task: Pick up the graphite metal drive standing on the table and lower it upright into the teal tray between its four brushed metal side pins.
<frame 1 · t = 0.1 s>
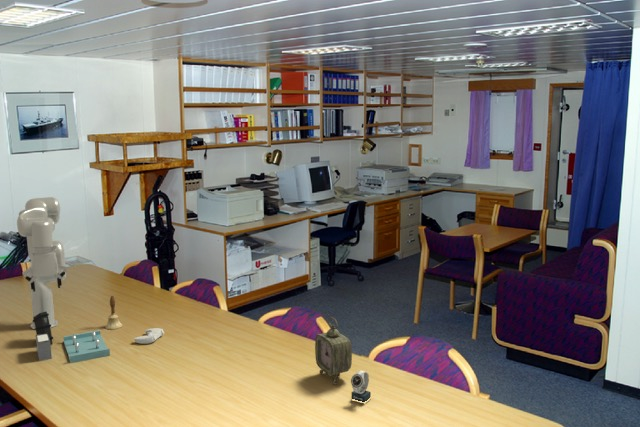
hand: (46, 289, 244), 31 cm above the table, fingers open, 9 cm apart
hand bell: (113, 327, 287), on the table
pin tray: (86, 348, 259), on the table
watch: (360, 400, 211), on the table
drive: (44, 355, 253), on the table
black stepped block: (43, 342, 268), on the table
game controller: (150, 340, 270), on the table
tabletop clock: (333, 377, 229), on the table
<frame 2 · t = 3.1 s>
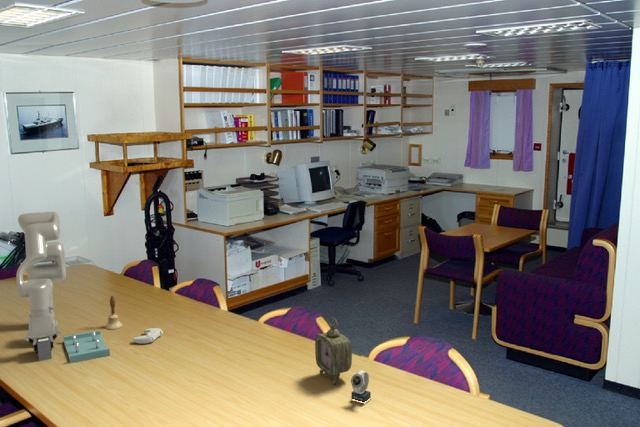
hand: (43, 350, 252), 2 cm above the table, fingers closed on drive, 5 cm apart
drive: (44, 355, 253), on the table, touching gripper
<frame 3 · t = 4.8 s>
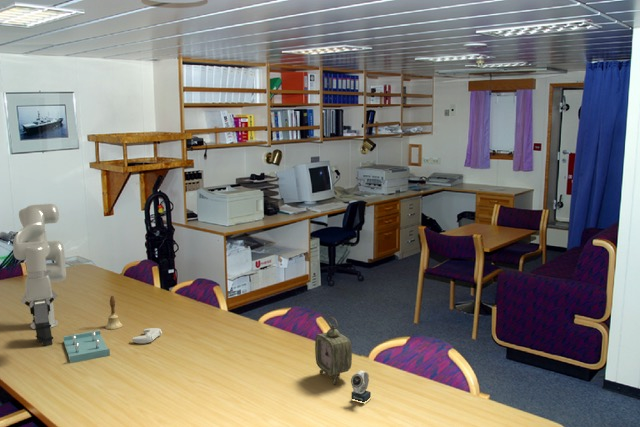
hand: (40, 313, 250), 19 cm above the table, fingers closed on drive, 5 cm apart
drive: (41, 318, 250), point 17 cm above the table, touching gripper
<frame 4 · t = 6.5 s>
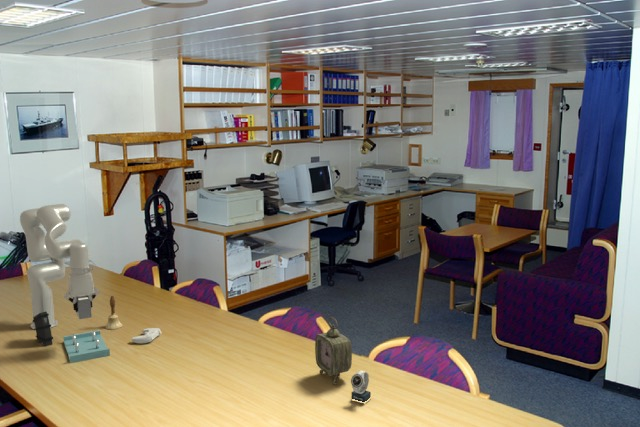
hand: (83, 309, 256), 18 cm above the table, fingers closed on drive, 5 cm apart
drive: (83, 314, 256), point 16 cm above the table, touching gripper
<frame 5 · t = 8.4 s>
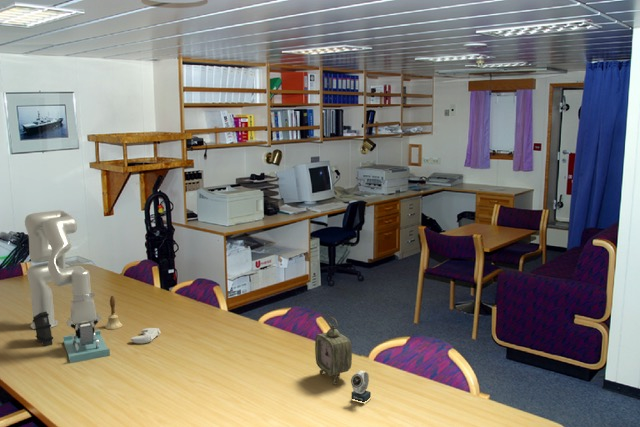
hand: (85, 335, 258), 6 cm above the table, fingers closed on drive, 5 cm apart
drive: (85, 340, 258), point 4 cm above the table, touching gripper
when the fingers open (4 cm above the table, at t = 9.8 s): drive stays where it is, resting on pin tray.
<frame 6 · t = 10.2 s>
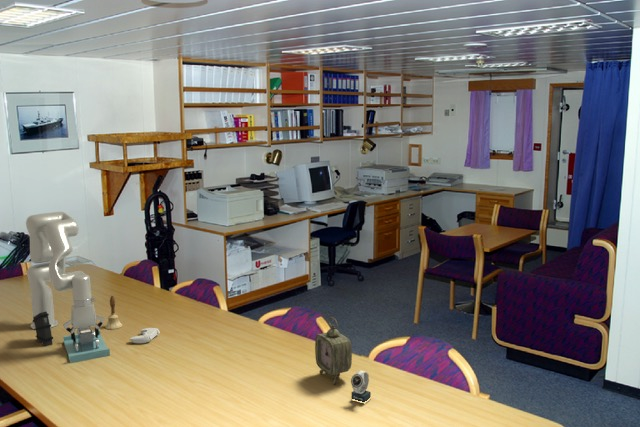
hand: (85, 338, 258), 5 cm above the table, fingers open, 9 cm apart
drive: (85, 346, 259), point 1 cm above the table, touching pin tray
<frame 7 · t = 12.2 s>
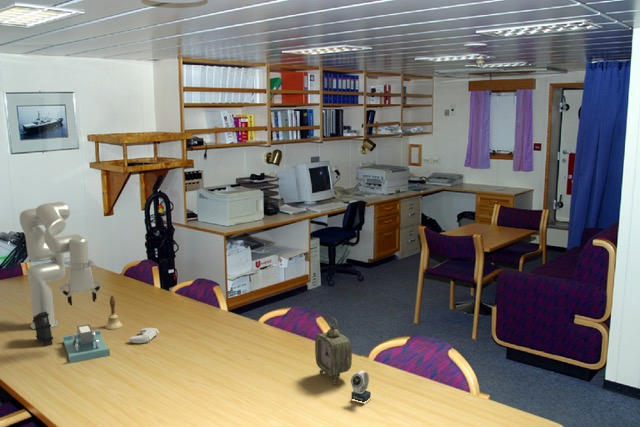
hand: (82, 302, 256), 22 cm above the table, fingers open, 9 cm apart
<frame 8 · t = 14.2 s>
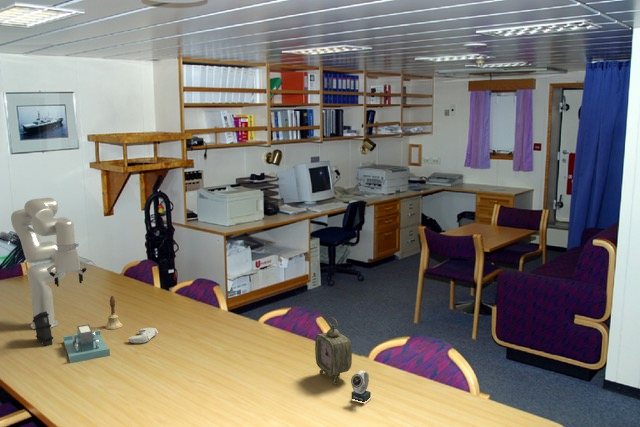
hand: (69, 284, 261), 28 cm above the table, fingers open, 9 cm apart
at the end: drive 0.1 cm off-centre on the pin tray, point 1.2 cm above the pin tray's base; drive tilted 0°; the gripper is holding nothing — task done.
